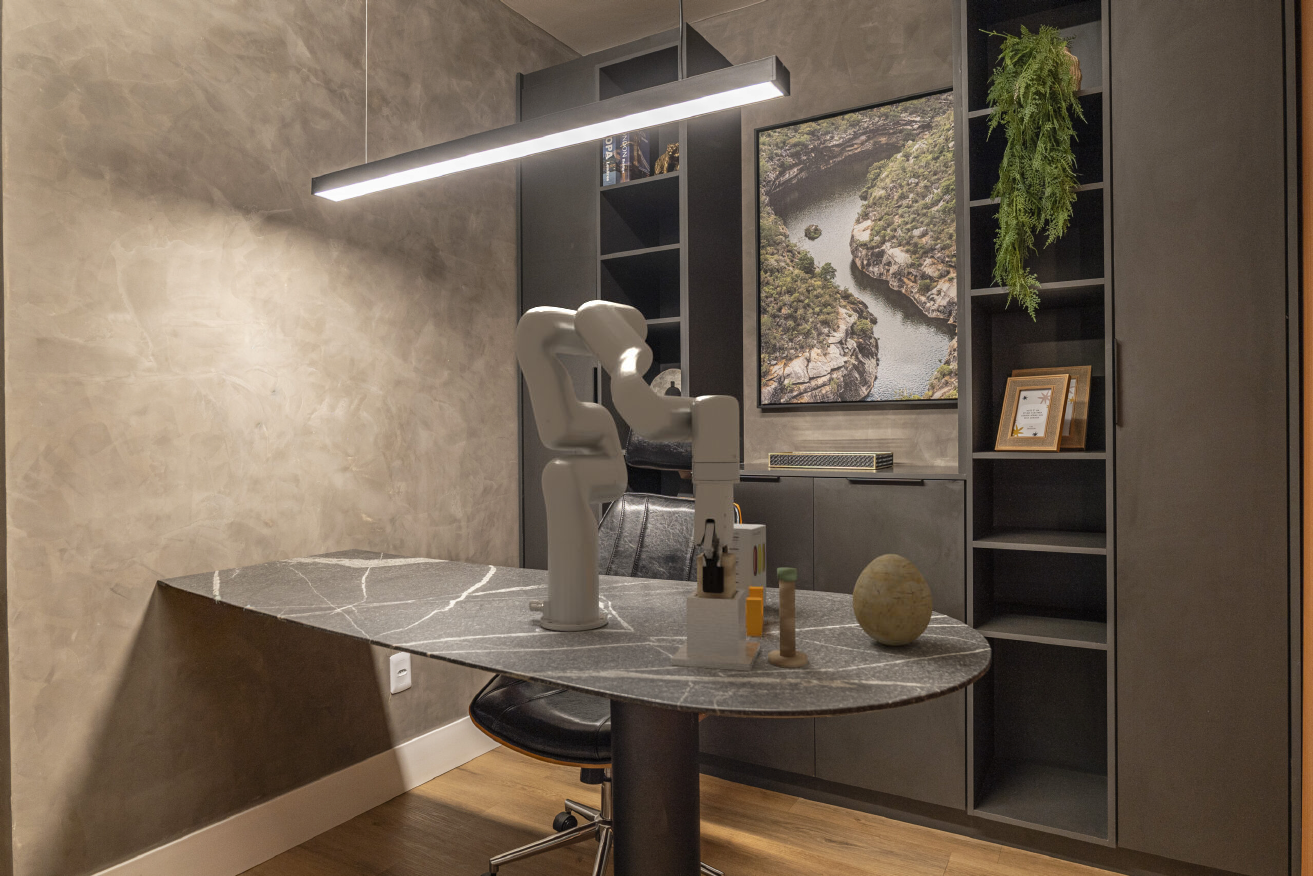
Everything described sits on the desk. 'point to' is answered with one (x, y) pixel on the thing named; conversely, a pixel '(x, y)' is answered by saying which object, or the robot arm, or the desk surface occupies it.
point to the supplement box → (750, 556)
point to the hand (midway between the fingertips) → (716, 587)
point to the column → (729, 577)
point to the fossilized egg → (892, 600)
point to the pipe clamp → (754, 611)
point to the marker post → (787, 623)
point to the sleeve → (717, 634)
